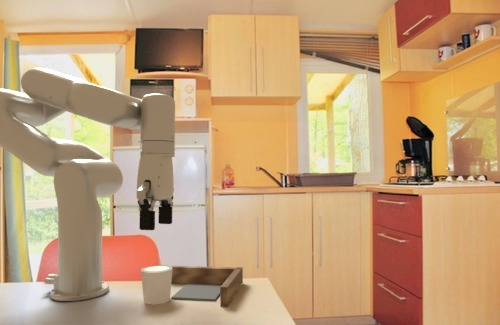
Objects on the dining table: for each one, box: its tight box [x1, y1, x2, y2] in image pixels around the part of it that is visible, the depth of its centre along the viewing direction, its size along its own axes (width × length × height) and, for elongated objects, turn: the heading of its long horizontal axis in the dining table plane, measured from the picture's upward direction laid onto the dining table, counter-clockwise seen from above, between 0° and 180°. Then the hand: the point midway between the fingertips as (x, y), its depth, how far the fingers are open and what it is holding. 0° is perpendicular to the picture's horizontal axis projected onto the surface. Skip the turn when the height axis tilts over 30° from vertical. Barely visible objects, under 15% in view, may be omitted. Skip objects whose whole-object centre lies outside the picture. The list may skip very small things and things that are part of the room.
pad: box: [170, 283, 222, 302], centre depth 87 cm, size 10×10×1 cm
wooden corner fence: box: [170, 265, 244, 308], centre depth 88 cm, size 19×17×4 cm
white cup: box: [140, 264, 173, 305], centre depth 83 cm, size 7×7×7 cm
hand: (156, 226), depth 83 cm, fingers open, 9 cm apart
